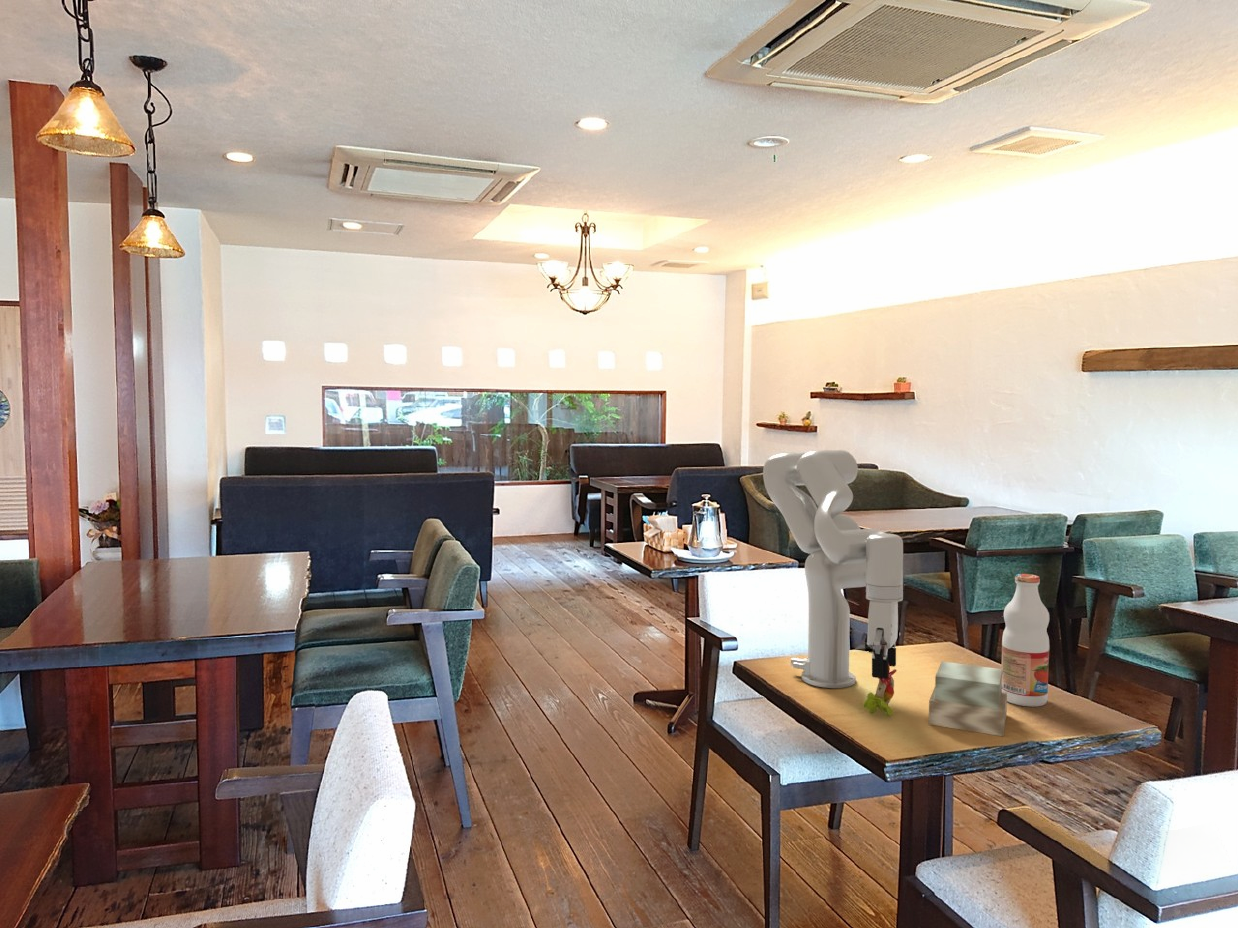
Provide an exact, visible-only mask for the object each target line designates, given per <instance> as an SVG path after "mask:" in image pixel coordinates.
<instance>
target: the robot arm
mask: <svg viewBox="0 0 1238 928" xmlns="http://www.w3.org/2000/svg"><path fill="white" fill-rule="evenodd" d="M858 472H859V467H858V463H857V461H856V459H855V457H854V456H853V455H852V453H850V452H849V451H847V450H843V449H842V450H841V449H834V450H832V449H831V450H821V449H820V450H812V451H808V452H807V451H806V452H804V451H803V452H801V451H799V452H798V451H797V452H783V453H777V454H775V455H772V456H770V457H768V459H766V461H765V463H764V465H763V470H762V477H763V484H764V487H765V490H766V493H767V494H768V496H769V498H770V500H771V501H772V502H773V504H774V505H775V507H776V508H777V509H778V510H779V512H780V514H781V515H782V516H783V518H784V520H785V523H786V525H787V526H788V529H789V531H790V533H791V535H792V537H793V539H794V541H795V543H796V544H797V546H798V547H799V549H800V550H801V551H802V552H804V553H807V554H808V556H807V558H806V559H805V562H804V575H805V580H806V586H807V593H808V632H807V633H808V635H807V636H808V637H807V638H808V639H807V640H808V641H807V645H808V647H807V648H808V649H807V653H808V655H807V658H804V659H802V658H797V657H791V658H790V666H792V667H793V669H800V670H803V671H802V672H801V677H800V678H801V680H802V681H803V682H805V683H806V684H809V685H811V686H814V687H819V688H825V689H826V688H827V689H842V688H847V687H851V686H854V685H855V684H856V679H857V678H856V675H855V674H854V673H852V672H850V634H851V633H850V630H851V628H850V627H851V626H850V625H851V623H850V621H851V611H850V610H851V609H850V605H849V602H848V600H847V599H846V598H845V595H843V593H842V590H843V589H851V588H852V589H853V588H855V589H856V588H864V587H865V599H866V600H868V601H869V606H868V616H867V620H868V621H867V634H868V636H867V645H868V646H869V647H871V646H872V645H873V646H874V647H873V652H872V655H871V677H872V678H876V679H878V678H883V679H887V678H888V663H889V667H894V668H895V667H896V665H897V648H896V642H897V639H898V634H899V633H898V631H899V611H898V610H899V609H898V608H899V604H898V603H899V602H902V601H903V599H904V591H903V590H904V541H903V538H902V537H901V536H900V535H898V534H893V533H887V532H885V531H883V530H881V529H877V528H863V529H862V528H860V525H859V524H858V522H856V521H855V519H854V518H853V517H852V516H849V515H847V514H842V513H843V512H845V511H846V510H847V509H848V508H849V507H850V506H851V504H852V502H853V499H854V494H853V491H852V490H851V488H850V487H849V484H851V483H853V482H854V481H855V480H856V478H857V475H858ZM797 486H805V487H806V490H808V492H809V494H810V495H809V494H807V493H806V492H805V491H803V490H802V489H800V488H799V487H797Z"/></svg>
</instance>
